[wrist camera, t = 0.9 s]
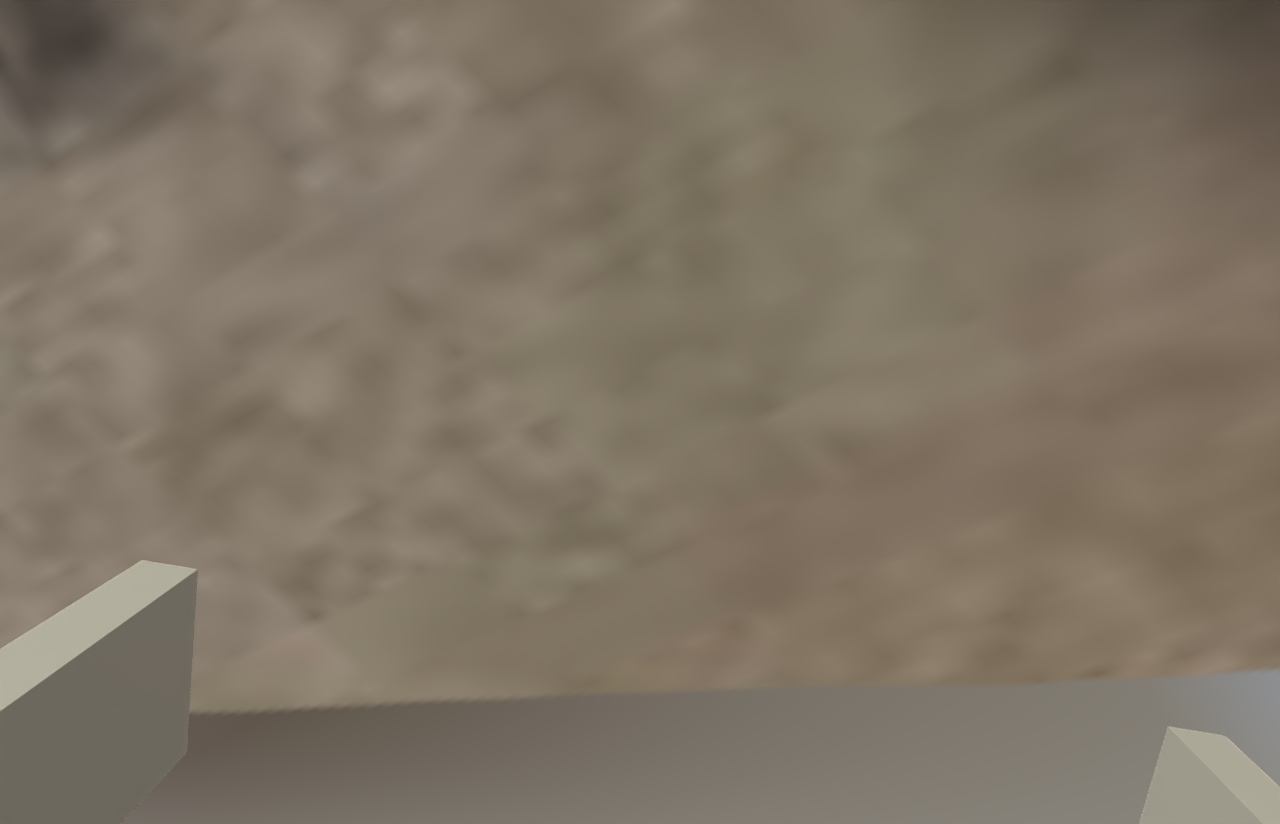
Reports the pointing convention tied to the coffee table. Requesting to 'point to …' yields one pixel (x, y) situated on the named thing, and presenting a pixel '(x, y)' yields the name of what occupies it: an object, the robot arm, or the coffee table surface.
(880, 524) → the coffee table surface
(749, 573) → the coffee table surface
